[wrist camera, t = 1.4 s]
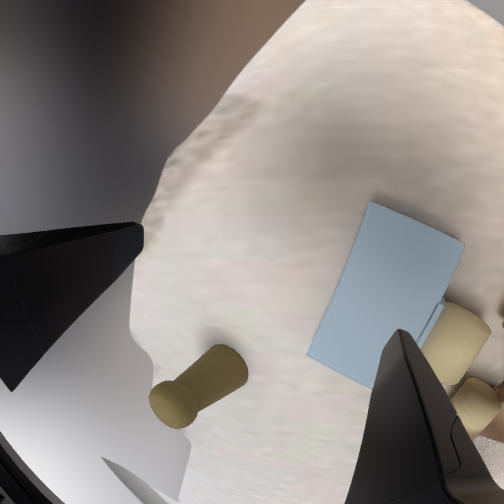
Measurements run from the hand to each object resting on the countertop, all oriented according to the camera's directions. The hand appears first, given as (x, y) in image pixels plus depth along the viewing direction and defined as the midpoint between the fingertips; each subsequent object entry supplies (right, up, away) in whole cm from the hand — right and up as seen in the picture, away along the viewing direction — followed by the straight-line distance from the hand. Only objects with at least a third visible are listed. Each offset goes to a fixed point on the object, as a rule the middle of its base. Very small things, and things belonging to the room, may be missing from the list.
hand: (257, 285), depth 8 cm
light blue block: (+13, -4, +12) cm, 18 cm away
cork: (-3, -13, +23) cm, 27 cm away
